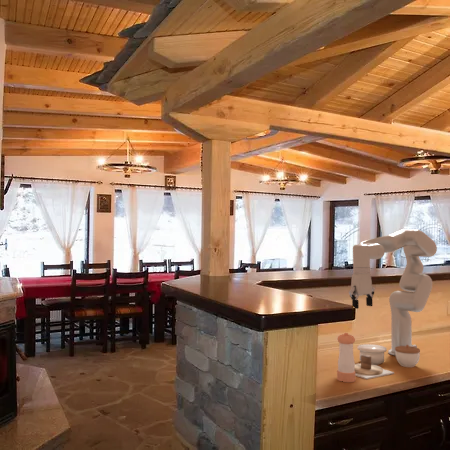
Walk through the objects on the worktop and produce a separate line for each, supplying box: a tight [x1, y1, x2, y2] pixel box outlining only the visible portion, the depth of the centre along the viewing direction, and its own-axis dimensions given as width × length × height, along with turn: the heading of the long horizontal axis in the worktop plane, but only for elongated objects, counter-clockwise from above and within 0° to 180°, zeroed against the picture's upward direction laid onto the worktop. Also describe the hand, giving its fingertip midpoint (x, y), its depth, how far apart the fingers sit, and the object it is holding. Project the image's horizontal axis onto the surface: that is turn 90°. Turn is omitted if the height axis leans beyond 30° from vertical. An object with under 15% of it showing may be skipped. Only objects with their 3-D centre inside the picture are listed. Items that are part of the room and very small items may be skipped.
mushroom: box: [357, 343, 387, 366], centre depth 228 cm, size 13×13×7 cm
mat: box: [355, 368, 395, 380], centre depth 212 cm, size 17×16×1 cm
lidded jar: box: [394, 345, 421, 368], centre depth 223 cm, size 11×11×9 cm
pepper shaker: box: [336, 332, 356, 383], centre depth 200 cm, size 7×7×19 cm
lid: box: [354, 355, 384, 375], centre depth 212 cm, size 14×14×6 cm
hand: (362, 307), depth 229 cm, fingers open, 9 cm apart
